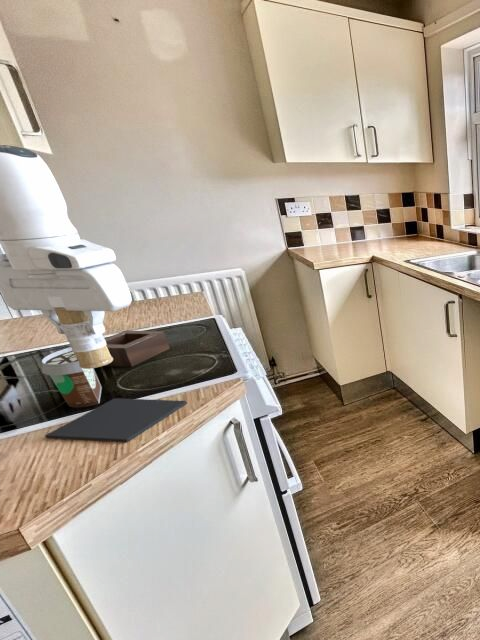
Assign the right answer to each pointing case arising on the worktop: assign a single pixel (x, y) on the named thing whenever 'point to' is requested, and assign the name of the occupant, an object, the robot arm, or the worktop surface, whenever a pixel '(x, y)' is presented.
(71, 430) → the rubber mat
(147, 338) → the box
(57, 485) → the worktop surface
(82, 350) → the sprinkles bottle
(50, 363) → the food container
